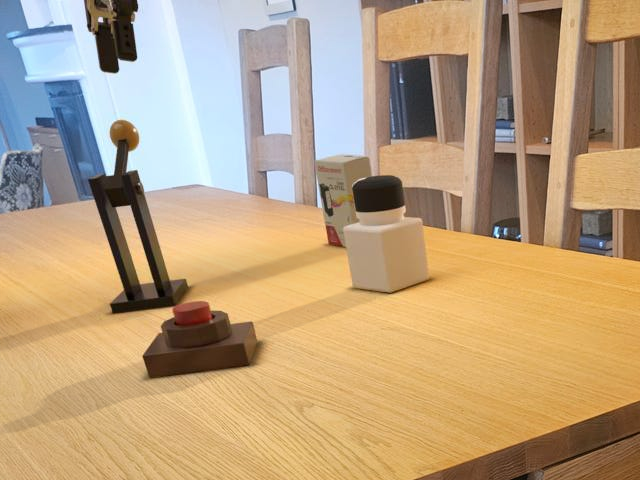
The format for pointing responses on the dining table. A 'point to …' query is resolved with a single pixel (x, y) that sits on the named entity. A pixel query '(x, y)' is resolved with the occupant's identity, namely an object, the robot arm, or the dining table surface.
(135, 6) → the robot arm
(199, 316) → the release button
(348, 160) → the ink box
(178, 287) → the bracket
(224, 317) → the block
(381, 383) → the dining table surface
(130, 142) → the ball knob lever
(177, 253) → the dining table surface
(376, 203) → the medicine bottle
